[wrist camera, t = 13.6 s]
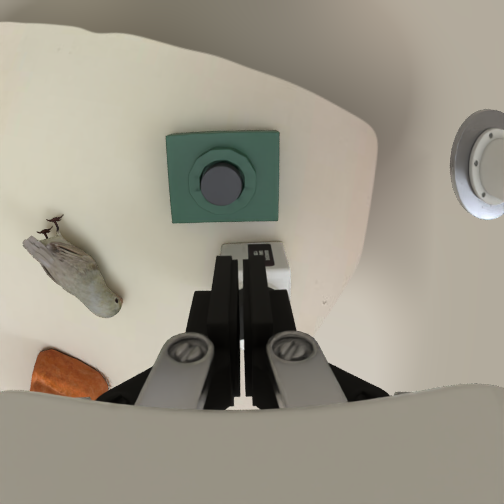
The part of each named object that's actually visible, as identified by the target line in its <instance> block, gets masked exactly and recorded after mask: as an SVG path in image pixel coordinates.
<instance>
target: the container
mask: <svg viewBox="0 0 504 504" xmlns="http://www.w3.org/2000/svg"><path fill="white" fill-rule="evenodd" d="M249 255H264V261H265V268H266V275H267V282H268V289H269V290H280V289H286V290H287V292H288V296H289V300H290V290H291V270H290V266H289V263H288V259H287V256H286V252H285V249H284V245H283V243H282V242H261V243H240V244H224V245H222V247H221V253H220V256H232V260H233V259H238V278H239V308H240V349H242V350H244V327H243V259H249Z"/></svg>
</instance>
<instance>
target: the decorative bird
mask: <svg viewBox="0 0 504 504" xmlns="http://www.w3.org/2000/svg"><path fill="white" fill-rule="evenodd" d="M62 216H63V215H62ZM62 216H61V217H62ZM61 217H55V218H53V219H51V220H47V219H46V220H47V221H49V222H54V223H55V225H56V228H57V236H56V237H52V238H49V239H48V237H47V234H46V233H49V232H50V231H49V230H50V229H51V228H52V227H53V226H52V227H51V228H50V229H44V230H42V231H41V232H37V231H36V232H37V233H40V234H41V233H42V234H44V235H45V237H46V239H44V240H40V241H38V240H37V239H35V238H34V237H33V236H30V237H29V238H28V239H27V240H24V241H23V247H24V248H25V249H27V251H28V252H29V253H30V254H31V255H32V256H33V258H35V259H36V260H37V261H38V262H40V264H41V265H42V267H43V269H44V271H45V272H46V273H47V275H48V276H49V277H50V278H51V279H52V280H53V281H54V282H56V283H57V284H58V285H60V286H61V287H62V288H63V289H64V290H66V291H67V292H69V293H70V294H72V295H74V296H76V297H77V298H78V299H79V300H80V301H81V302H83V304H84V305H85V306H86V307H87V308H88V309H89V310H90V311H91V312H93V313H94V314H95V315H97V316H99V317H102V318H110V317H113V316H114V315H116V314H117V313H118V312H119V311H120V309H121V306H122V303H123V300H122V298H121V297H119V296H117V295H115V294H114V293H113V292H112V291H111V290H110V289H109V288H108V287H107V286H106V285H105V281H104V279H103V277H102V275H101V274H100V271H99V269H98V267H97V265H96V262H95V261H94V259H93V258H92V257H91V256H90V255H89V254H87V253H86V252H84V251H83V250H81V249H80V248H77V247H75V246H74V245H72V244H71V243H69V242H68V241H66V240H65V239H64V238H63V237H62V235H61V233H60V232H59V227H58V224H57V222H56V221H60V220H61V219H60V218H61ZM59 219H60V220H59Z"/></svg>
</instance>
